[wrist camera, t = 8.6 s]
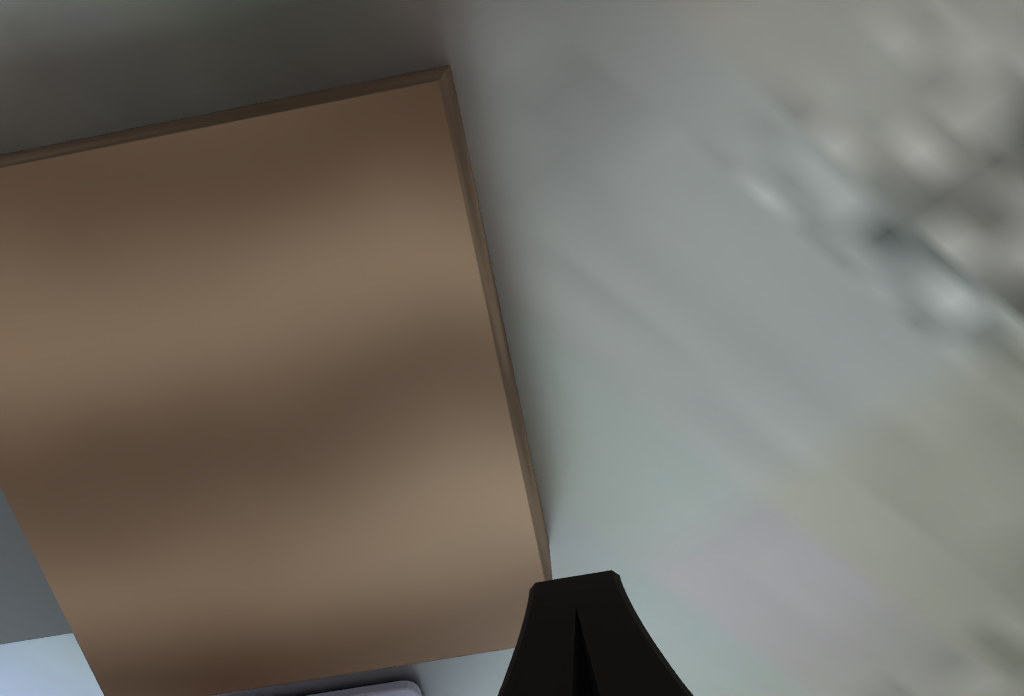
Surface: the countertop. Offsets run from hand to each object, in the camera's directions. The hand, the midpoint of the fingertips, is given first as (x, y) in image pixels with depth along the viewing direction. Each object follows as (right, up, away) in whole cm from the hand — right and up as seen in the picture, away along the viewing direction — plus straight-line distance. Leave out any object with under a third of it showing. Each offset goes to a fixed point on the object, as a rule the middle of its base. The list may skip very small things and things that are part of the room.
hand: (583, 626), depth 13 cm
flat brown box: (-7, +4, +10) cm, 13 cm away
